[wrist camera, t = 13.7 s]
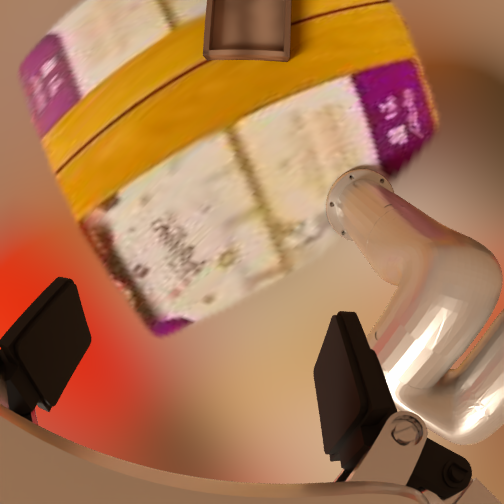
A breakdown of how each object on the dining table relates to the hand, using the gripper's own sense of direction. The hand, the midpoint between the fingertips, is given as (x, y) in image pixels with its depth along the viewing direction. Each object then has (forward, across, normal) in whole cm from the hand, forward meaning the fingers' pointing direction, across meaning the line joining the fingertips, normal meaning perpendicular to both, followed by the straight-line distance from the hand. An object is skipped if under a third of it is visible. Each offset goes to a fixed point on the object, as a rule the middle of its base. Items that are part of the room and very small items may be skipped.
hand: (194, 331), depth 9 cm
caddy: (+37, +2, -29) cm, 47 cm away
